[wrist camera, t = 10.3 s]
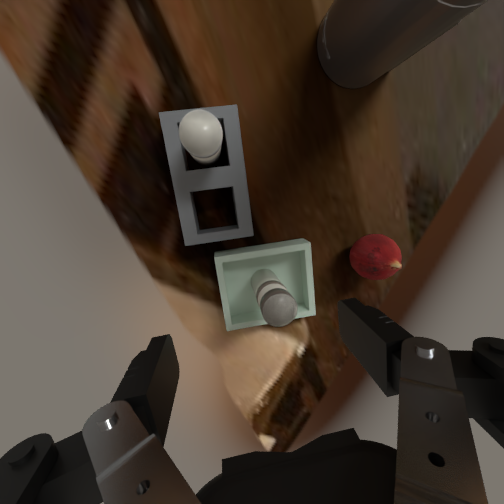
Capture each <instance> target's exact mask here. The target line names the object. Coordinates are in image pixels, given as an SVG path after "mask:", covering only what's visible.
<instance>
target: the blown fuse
mask: <svg viewBox="0 0 504 504" xmlns="http://www.w3.org/2000/svg"><path fill="white" fill-rule="evenodd" d="M251 286H252V289H253V291H254V294H255V296H256V300H257V303H258V305H259V307H260V310H261V313H262V316H263V318H264V320H265V321H266V322H267V323H268V324H269V325H271V326H275V327H282V326H285V325H287V324H289V323H291V322H292V321H293V320H294V318H295V317H296V314H297V310H298V307H297V303H296V301H295V299H294V298H293V297H292V295H291V294H290V293H289V292H288V290H287V289H286V287H285V286H284V285H283V284H282V283H281V281H280V280H279V279H278V277H277V276H276V275H275V273H274V272H273V271H271V270H269V269H260V270H258V271H256V272H255V273H254V274H253V276H252V278H251Z"/></svg>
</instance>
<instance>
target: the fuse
mask: <svg viewBox="0 0 504 504" xmlns="http://www.w3.org/2000/svg"><path fill="white" fill-rule="evenodd" d="M179 138H180V141H181V143H182V145H183V146H184V148H185V149H186V150H187V151H188V152H189V153H190V155H191V156H192V157H193V159H194V160H195V161H196V162H197V163H199V164H201V165H204V166H209V165H212V164H214V163H216V162H217V161H218V159H219V157H220V155H221V145H222V139H223V131H222V127H221V124H220V122H219V120H218V119H217V118H216V117H215V116H214V115H213V114H212V113H210V112H208V111H206V110H201V109H198V110H193V111H190V112H188V113H187V114H186V115H185V116H184V117H183V118H182V120H181V122H180V125H179Z"/></svg>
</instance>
